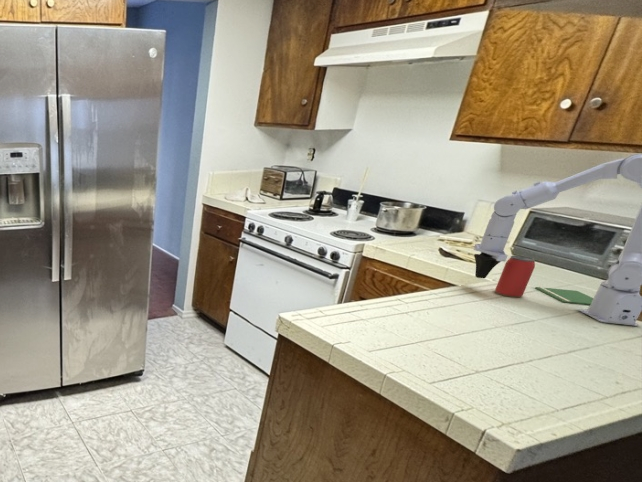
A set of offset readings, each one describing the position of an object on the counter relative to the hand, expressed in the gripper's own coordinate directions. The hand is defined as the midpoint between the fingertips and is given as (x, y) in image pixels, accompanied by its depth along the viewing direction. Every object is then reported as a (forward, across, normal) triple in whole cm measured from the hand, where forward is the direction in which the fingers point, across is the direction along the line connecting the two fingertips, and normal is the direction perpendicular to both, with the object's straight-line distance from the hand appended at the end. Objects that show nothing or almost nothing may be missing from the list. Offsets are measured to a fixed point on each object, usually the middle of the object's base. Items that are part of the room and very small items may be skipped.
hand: (480, 277), depth 149 cm
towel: (+5, -4, +27) cm, 27 cm away
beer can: (+5, 0, +9) cm, 10 cm away
